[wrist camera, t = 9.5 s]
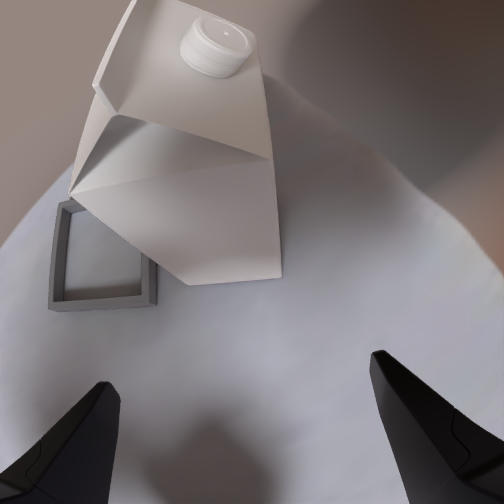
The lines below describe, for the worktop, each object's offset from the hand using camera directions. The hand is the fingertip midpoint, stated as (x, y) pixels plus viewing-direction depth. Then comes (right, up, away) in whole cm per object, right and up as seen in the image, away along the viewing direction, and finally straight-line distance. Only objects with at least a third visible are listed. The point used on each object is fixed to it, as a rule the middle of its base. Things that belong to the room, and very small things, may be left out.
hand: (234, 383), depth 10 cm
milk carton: (-1, +5, +15) cm, 16 cm away
